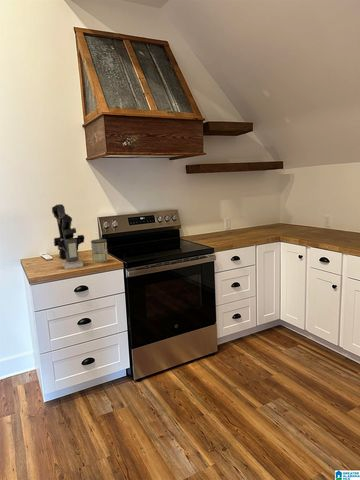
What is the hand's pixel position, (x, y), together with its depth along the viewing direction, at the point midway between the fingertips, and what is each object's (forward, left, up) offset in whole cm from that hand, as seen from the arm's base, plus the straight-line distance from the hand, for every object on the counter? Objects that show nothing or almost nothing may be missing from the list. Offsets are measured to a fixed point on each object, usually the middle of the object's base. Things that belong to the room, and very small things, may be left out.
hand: (71, 250), depth 225 cm
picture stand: (0, -1, -10) cm, 10 cm away
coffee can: (-20, +1, -11) cm, 23 cm away
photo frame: (0, -1, -7) cm, 7 cm away
